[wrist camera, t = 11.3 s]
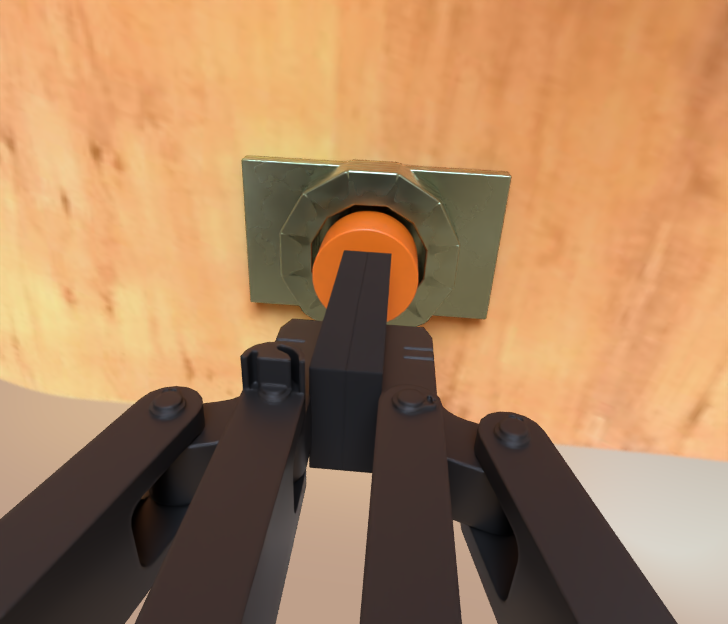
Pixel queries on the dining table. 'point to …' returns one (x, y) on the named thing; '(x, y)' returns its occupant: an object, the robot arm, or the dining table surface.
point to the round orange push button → (369, 236)
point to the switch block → (382, 194)
